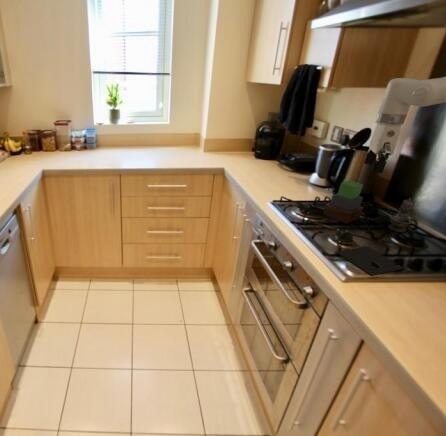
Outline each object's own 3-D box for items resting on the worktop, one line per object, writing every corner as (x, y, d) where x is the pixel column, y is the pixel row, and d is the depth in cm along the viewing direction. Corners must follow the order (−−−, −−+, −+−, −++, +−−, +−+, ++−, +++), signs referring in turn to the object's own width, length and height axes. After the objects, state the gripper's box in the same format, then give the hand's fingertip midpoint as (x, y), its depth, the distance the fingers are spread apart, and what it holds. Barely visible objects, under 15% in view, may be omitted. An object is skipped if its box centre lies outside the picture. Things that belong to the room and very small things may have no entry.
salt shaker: (389, 222, 116) (402, 192, 111) (409, 228, 112) (424, 197, 107) (384, 227, 113) (397, 197, 108) (404, 234, 109) (419, 202, 103)
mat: (366, 247, 103) (367, 246, 102) (404, 269, 92) (404, 268, 92) (336, 253, 100) (336, 252, 100) (370, 276, 90) (371, 274, 90)
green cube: (344, 192, 121) (349, 180, 118) (358, 196, 117) (363, 184, 115) (337, 195, 119) (341, 182, 116) (351, 199, 115) (355, 187, 112)
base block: (336, 208, 127) (339, 198, 125) (360, 217, 120) (364, 207, 118) (322, 214, 123) (325, 203, 121) (346, 223, 116) (350, 213, 114)
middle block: (340, 200, 124) (343, 190, 122) (359, 206, 118) (363, 197, 117) (329, 204, 121) (332, 194, 119) (348, 211, 116) (352, 201, 114)
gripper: (414, 124, 96) (393, 177, 104) (395, 114, 110) (378, 161, 118) (384, 123, 99) (366, 174, 107) (370, 113, 113) (354, 160, 121)
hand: (372, 168), depth 113 cm, fingers open, 9 cm apart
